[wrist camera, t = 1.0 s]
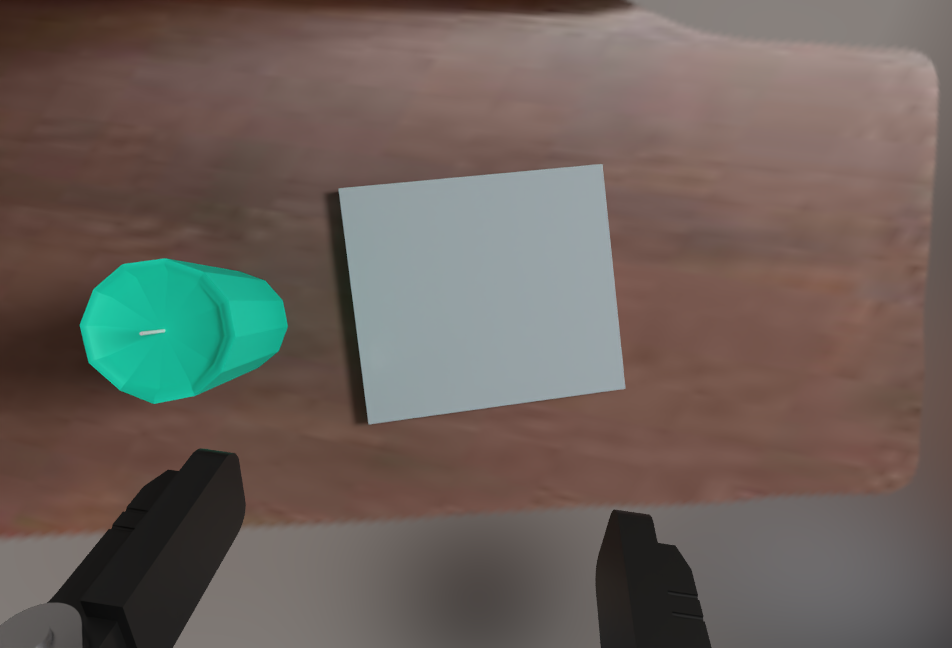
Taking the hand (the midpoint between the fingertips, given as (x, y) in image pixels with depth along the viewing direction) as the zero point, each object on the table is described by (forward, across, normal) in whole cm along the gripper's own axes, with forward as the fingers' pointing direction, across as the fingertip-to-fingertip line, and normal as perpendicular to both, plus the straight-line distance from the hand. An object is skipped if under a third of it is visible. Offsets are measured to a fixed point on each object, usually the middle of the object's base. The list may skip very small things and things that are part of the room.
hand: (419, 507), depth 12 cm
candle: (+20, +14, +9) cm, 26 cm away
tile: (+23, 0, +6) cm, 24 cm away
